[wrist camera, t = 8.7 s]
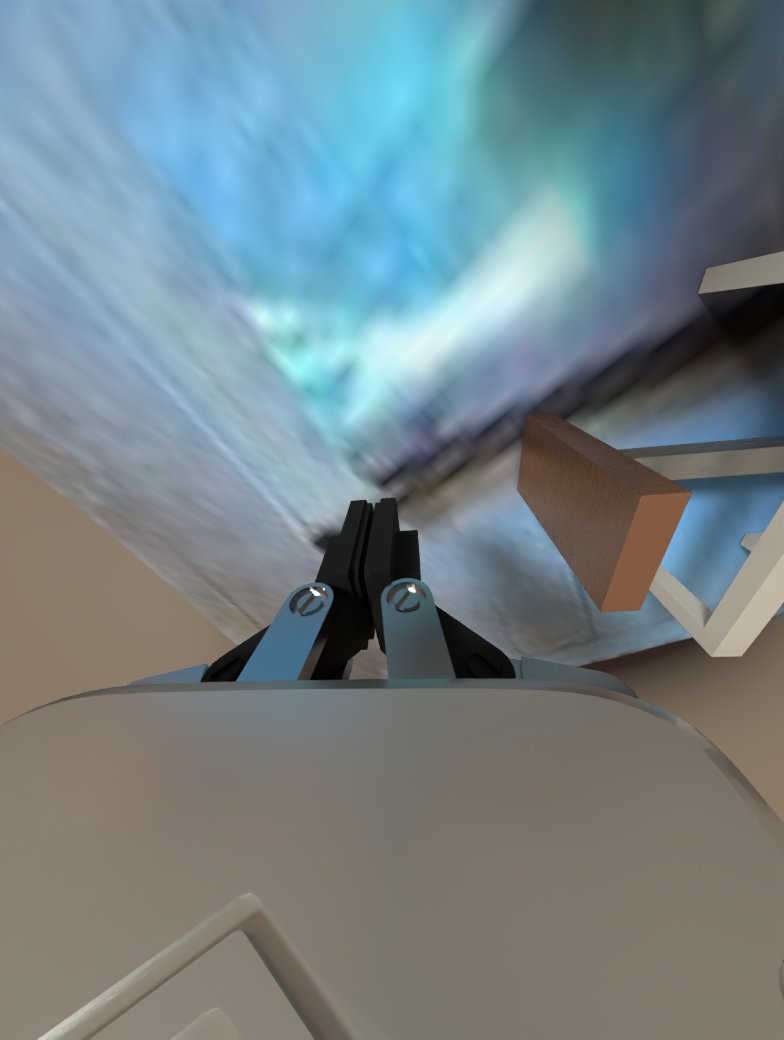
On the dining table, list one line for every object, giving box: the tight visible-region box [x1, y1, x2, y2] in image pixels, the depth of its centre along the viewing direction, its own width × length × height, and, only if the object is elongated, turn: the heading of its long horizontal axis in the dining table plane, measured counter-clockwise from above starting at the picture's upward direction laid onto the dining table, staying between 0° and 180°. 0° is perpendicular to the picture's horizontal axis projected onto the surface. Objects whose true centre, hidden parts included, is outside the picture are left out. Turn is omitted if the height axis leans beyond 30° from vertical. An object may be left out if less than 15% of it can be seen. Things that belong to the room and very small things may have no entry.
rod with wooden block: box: [517, 412, 784, 612], centre depth 14 cm, size 13×20×11 cm, turn 96°
